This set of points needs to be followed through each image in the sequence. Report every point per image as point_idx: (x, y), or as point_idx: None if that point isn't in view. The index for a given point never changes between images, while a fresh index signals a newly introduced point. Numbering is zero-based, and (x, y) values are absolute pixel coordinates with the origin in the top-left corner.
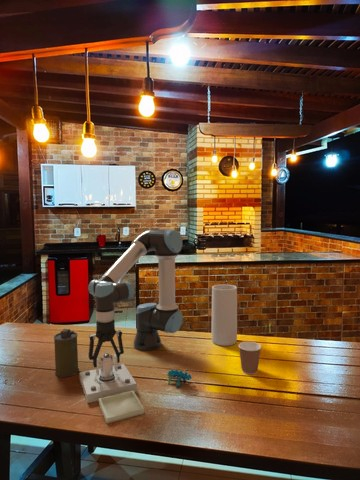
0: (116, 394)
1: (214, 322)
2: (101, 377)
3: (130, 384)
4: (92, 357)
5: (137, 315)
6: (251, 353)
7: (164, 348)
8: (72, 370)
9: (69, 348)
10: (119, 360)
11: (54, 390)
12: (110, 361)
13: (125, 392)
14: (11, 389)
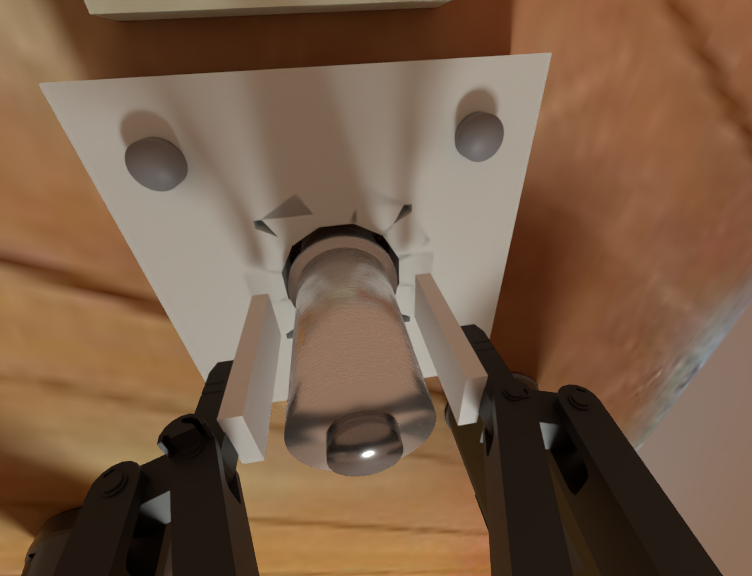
0: (280, 3)
1: None
2: (387, 273)
3: (115, 88)
4: (553, 415)
5: None
6: None
7: (9, 515)
8: None
9: (575, 527)
10: (207, 382)
11: (596, 280)
12: (316, 357)
13: (181, 3)
14: (710, 329)
